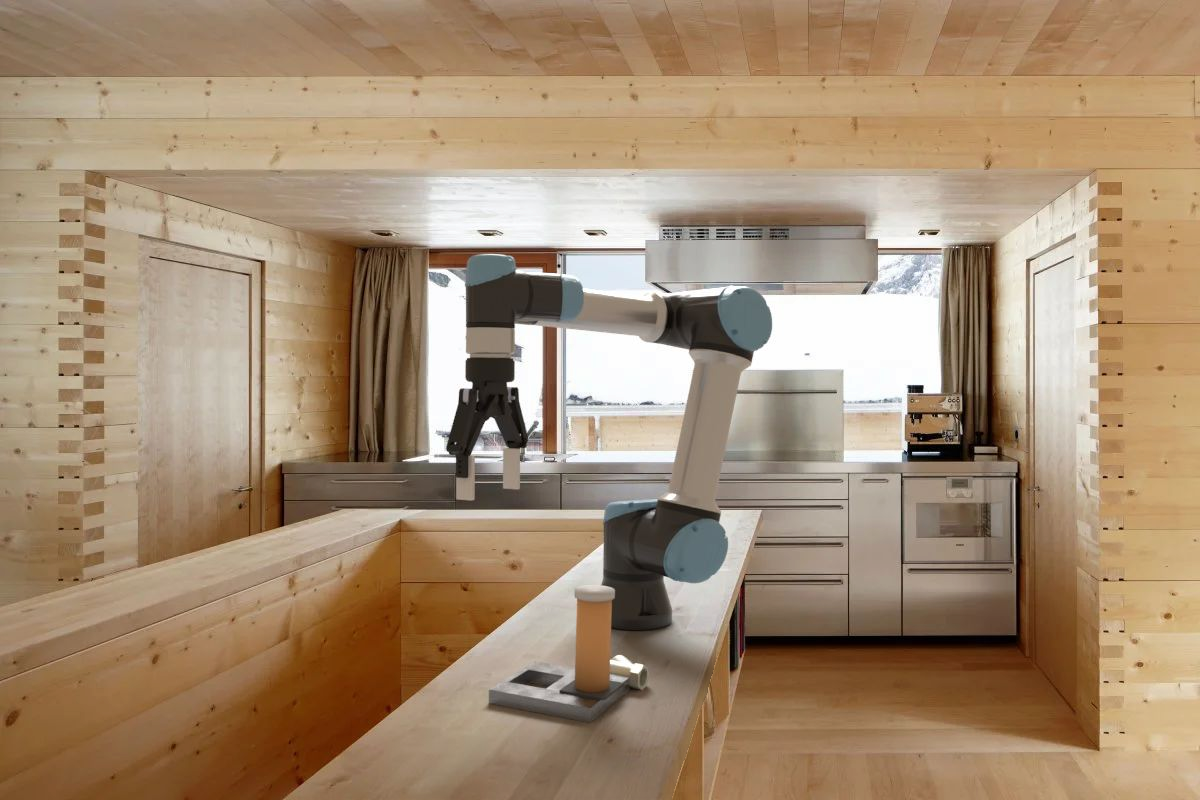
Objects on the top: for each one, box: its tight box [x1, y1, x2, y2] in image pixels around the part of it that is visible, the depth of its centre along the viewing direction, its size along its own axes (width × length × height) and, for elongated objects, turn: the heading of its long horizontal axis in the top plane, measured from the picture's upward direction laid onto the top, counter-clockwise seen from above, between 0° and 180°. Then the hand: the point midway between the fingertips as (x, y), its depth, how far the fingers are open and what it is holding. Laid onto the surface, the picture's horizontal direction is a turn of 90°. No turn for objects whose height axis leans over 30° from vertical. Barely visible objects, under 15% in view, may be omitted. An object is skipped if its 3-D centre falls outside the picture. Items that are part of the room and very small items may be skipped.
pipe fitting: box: [610, 654, 650, 691], centre depth 141 cm, size 8×4×7 cm
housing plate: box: [488, 661, 631, 723], centre depth 134 cm, size 14×16×2 cm
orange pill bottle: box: [573, 584, 615, 692], centre depth 131 cm, size 6×6×14 cm
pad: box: [559, 680, 624, 700], centre depth 131 cm, size 7×7×1 cm
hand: (489, 494), depth 141 cm, fingers open, 13 cm apart
